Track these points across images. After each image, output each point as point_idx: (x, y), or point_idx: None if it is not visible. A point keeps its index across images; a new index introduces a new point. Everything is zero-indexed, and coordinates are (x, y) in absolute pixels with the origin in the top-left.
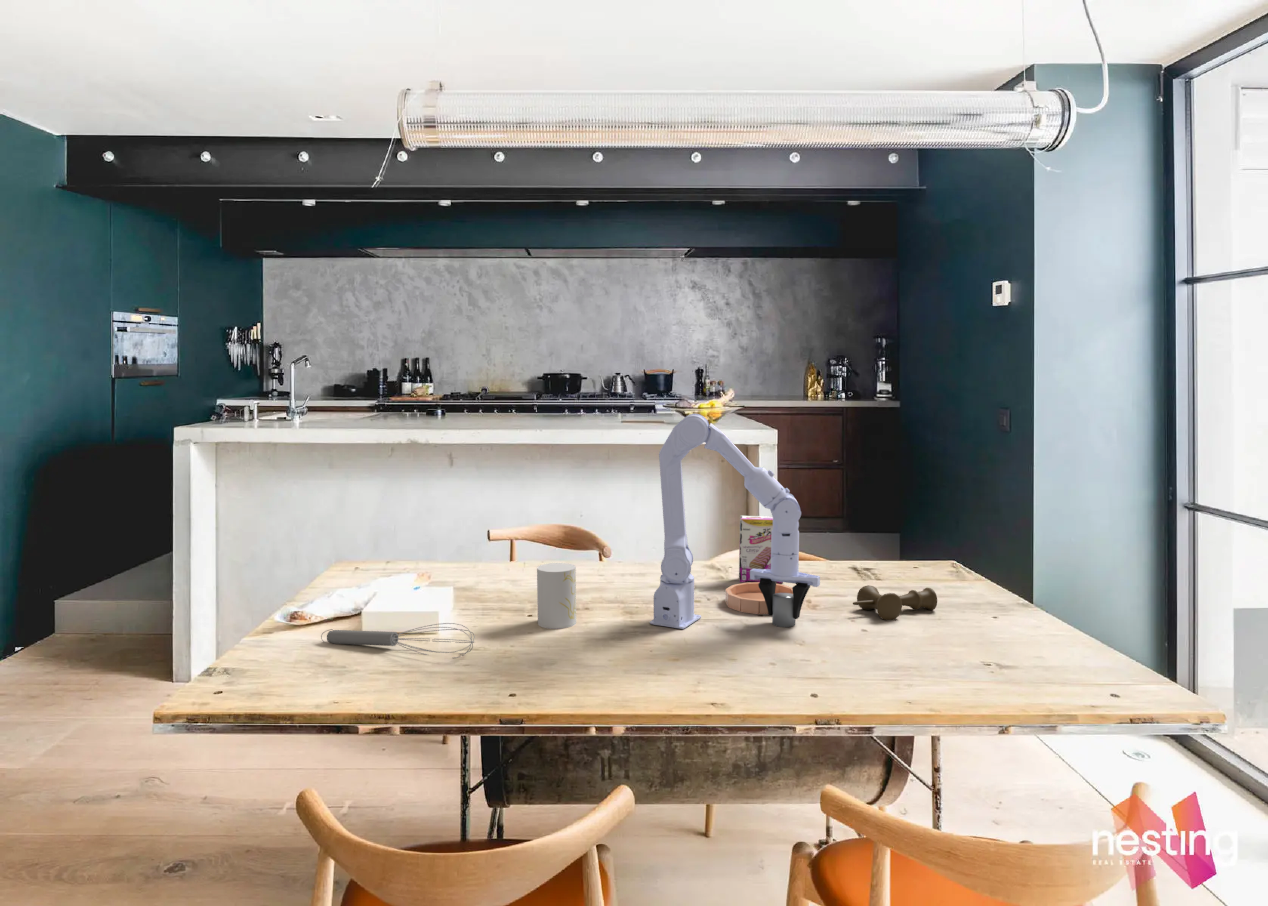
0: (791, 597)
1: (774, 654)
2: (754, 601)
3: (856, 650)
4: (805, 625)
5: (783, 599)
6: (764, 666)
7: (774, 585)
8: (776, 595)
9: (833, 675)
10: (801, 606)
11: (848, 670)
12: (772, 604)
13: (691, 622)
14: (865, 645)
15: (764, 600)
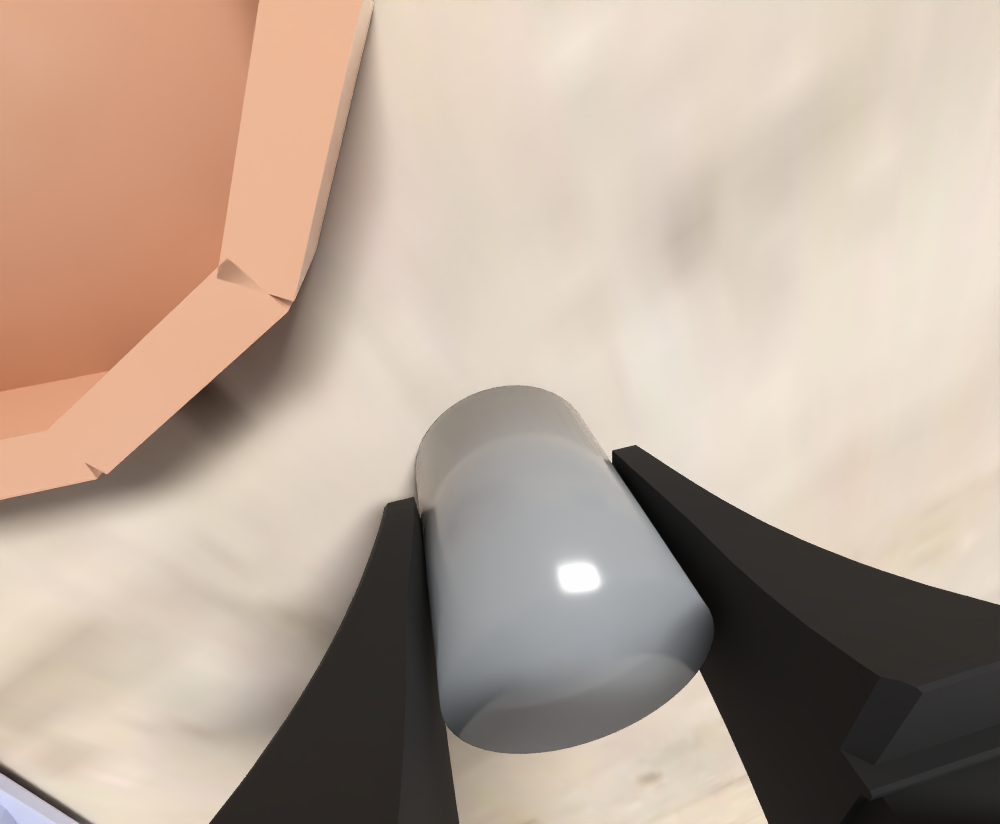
0: (676, 670)
1: (630, 743)
2: (40, 484)
3: (929, 552)
4: (656, 398)
5: (610, 724)
6: (634, 797)
7: (423, 801)
8: (500, 718)
9: None
10: (701, 490)
11: None
12: (426, 608)
13: (41, 811)
14: (984, 481)
15: (131, 418)
